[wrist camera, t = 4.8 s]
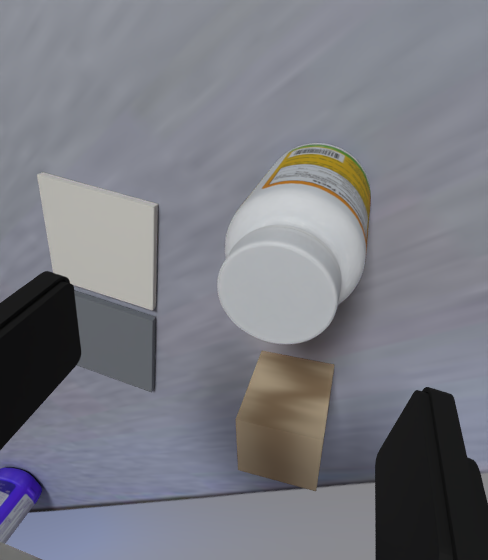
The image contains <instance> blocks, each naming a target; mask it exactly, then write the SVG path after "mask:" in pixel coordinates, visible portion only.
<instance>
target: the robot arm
mask: <svg viewBox="0 0 488 560" xmlns="http://www.w3.org/2000/svg"><path fill="white" fill-rule="evenodd" d="M80 358H81V344H80V336H79V327H78V319H77V310H76V302H75V293H74V287H73V285H72V284H70V281H69V279H68V278H67V277H65V276H62V275H59V274H55V273H52V272H49V271H46V272H43V273H41V274H40V275H38V276H37V277H36V278H34V279H33V280H32V281H30V282H29V283H27V284H26V285H25V286H23V287H22V288H20V289H19V290H18V291H16V292H15V293H13V294H12V295H11V296H9V297H8V298H7V299H5V300H4V301H2V302H1V303H0V450H1V449H2V448H3V446H4V445H5V444H6V443H7V442H8V441H9V440H10V439H11V438H12V436H13V435H14V434H15V433H16V432H17V431H18V430H19V429H20V427H21V426H22V425H23V424H24V423H25V422H26V421H27V420H28V419H29V417H30V416H31V415H32V414H33V413H34V412H35V411H36V410H37V409H38V407H39V406H40V405H41V404H42V403H43V402H44V401H45V400H46V398H47V397H48V396H49V395H50V394H51V393H52V392H53V391H54V390H55V388H56V387H57V386H58V385H59V384H60V383H61V382H62V381H63V380H64V378H65V377H66V376H67V375H68V374H69V373H70V372H71V371H72V369H73V368H74V367H75V366H76V365H77V364H78V362H79V360H80ZM375 494H376V495H375V499H376V500H375V501H376V502H375V503H376V504H375V505H376V508H375V510H376V560H488V503H487V499H486V495H485V491H484V487H483V483H482V478H481V474H480V471H479V468H478V465H477V464H476V463H475V461H474V460H472V459H470V458H467V455H466V450H465V446H464V441H463V436H462V432H461V427H460V423H459V418H458V414H457V409H456V405H455V400H454V397H453V396H452V395H451V394H449V393H446V392H442V391H439V390H436V389H433V388H429V387H426V388H424V389H423V391H419V390H416V391H415V392H414V393H413V395H412V396H411V398H410V400H409V401H408V403H407V405H406V406H405V408H404V410H403V412H402V413H401V415H400V417H399V418H398V420H397V422H396V423H395V425H394V427H393V428H392V430H391V432H390V433H389V435H388V437H387V438H386V440H385V442H384V443H383V445H382V447H381V448H380V450H379V452H378V454H377V458H376V464H375ZM0 560H42V559H40V558H37V557H35V556H33V555H30V554H28V553H25V552H23V551H21V550H18V549H16V548H13V547H11V546H9V545H6V544H4V543H2V542H0Z"/></svg>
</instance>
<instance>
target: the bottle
mask: <svg viewBox="0 0 488 560" xmlns="http://www.w3.org/2000/svg"><path fill="white" fill-rule="evenodd" d="M41 492H42V488H41V486H40V485H39V483H38V482H37V481H36V480H35V479H34V478H33V477H32V476H31V475H30V474H29V473H27V472H26V471H23V470H20V469H16V468H2V469H0V542H2V543H4V544H5V543H6V542H7V540H8V539H9V538H10V536H11V535H12V534H13V532H14V531H15V530H16V528H17V527H18V526H19V524H20V523H21V522H22V520H23V519H24V518H25V516H26V515H27V513H28V512H29V511H30V510H31V508H32V507H33V506H34V504H35V503H36V502H37V500H38V499H39V497H40V495H41Z"/></svg>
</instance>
